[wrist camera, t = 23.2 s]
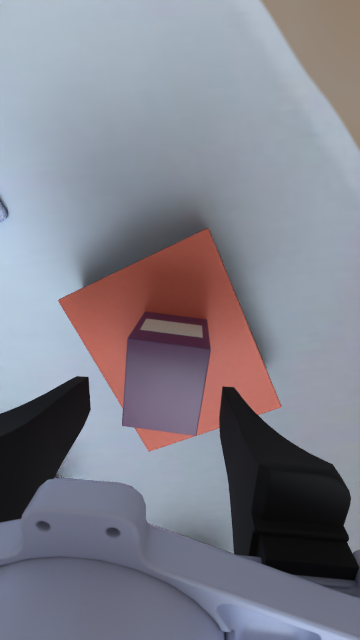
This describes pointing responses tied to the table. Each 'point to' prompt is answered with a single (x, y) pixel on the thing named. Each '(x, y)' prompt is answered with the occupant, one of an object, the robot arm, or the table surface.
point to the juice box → (166, 373)
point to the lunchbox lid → (181, 300)
